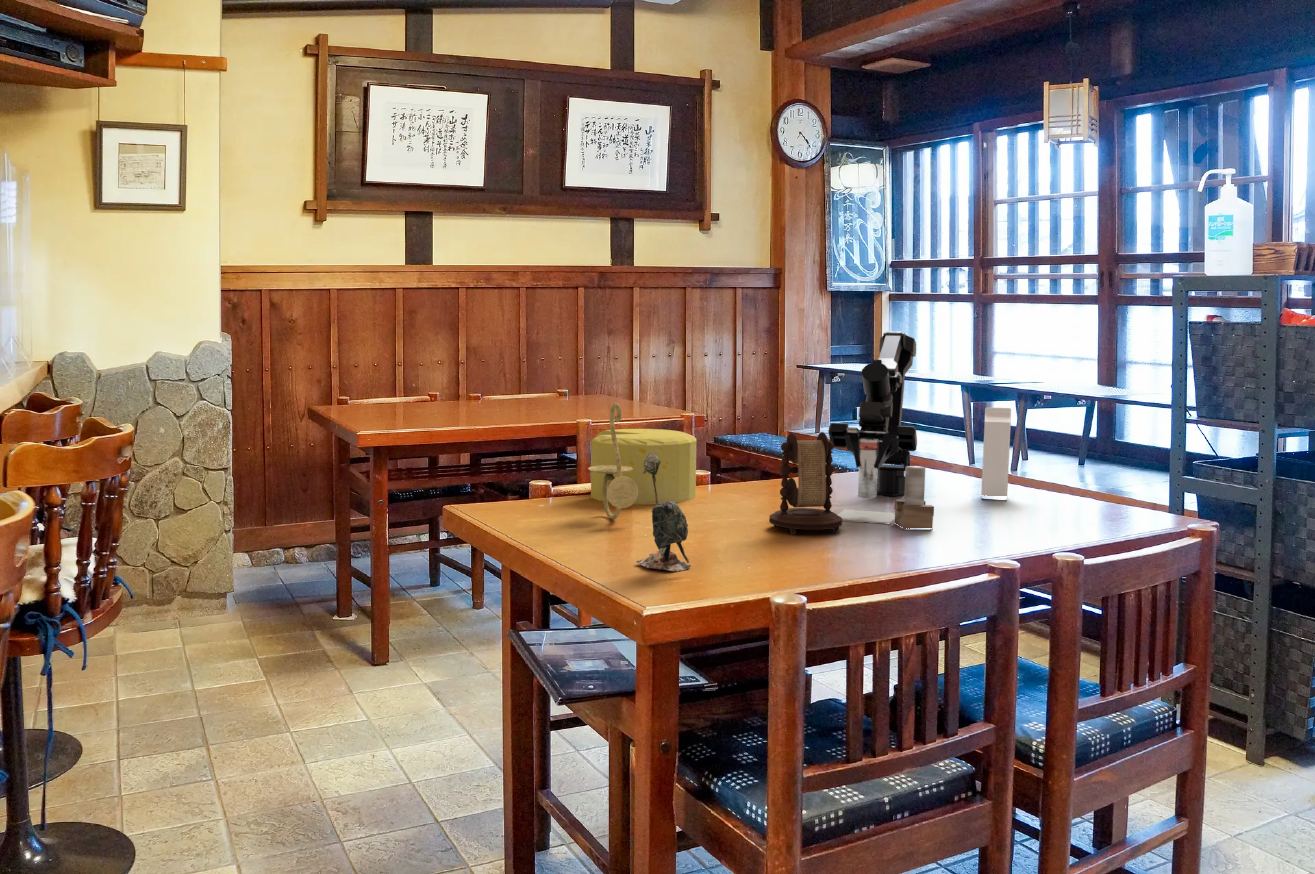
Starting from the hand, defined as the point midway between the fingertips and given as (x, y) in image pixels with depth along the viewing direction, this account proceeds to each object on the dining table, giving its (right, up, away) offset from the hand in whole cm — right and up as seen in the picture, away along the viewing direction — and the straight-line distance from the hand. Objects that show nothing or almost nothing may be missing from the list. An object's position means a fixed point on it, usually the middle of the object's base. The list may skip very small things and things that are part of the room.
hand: (867, 467), depth 236 cm
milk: (+36, -9, +30) cm, 48 cm away
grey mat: (0, -11, +2) cm, 11 cm away
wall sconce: (-55, -11, -3) cm, 56 cm away
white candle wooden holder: (+8, -12, -7) cm, 16 cm away
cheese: (-49, -8, +29) cm, 57 cm away
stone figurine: (-44, -16, -47) cm, 66 cm away
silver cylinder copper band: (0, -6, +2) cm, 7 cm away
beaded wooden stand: (-15, -13, -11) cm, 23 cm away
